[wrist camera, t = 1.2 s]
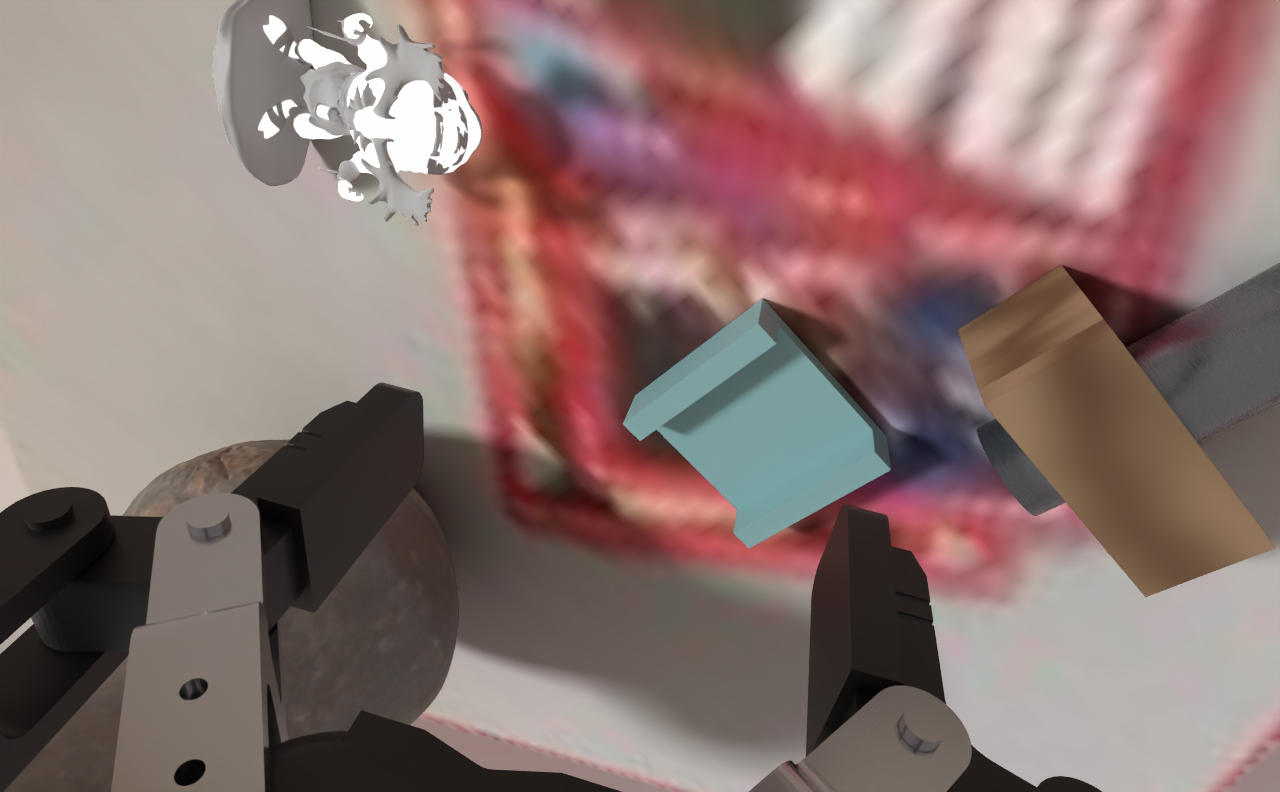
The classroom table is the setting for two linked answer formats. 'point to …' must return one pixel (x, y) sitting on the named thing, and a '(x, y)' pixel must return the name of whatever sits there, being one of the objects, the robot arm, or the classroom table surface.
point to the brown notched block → (1106, 437)
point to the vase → (300, 631)
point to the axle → (1183, 377)
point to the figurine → (338, 102)
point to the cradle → (763, 424)
